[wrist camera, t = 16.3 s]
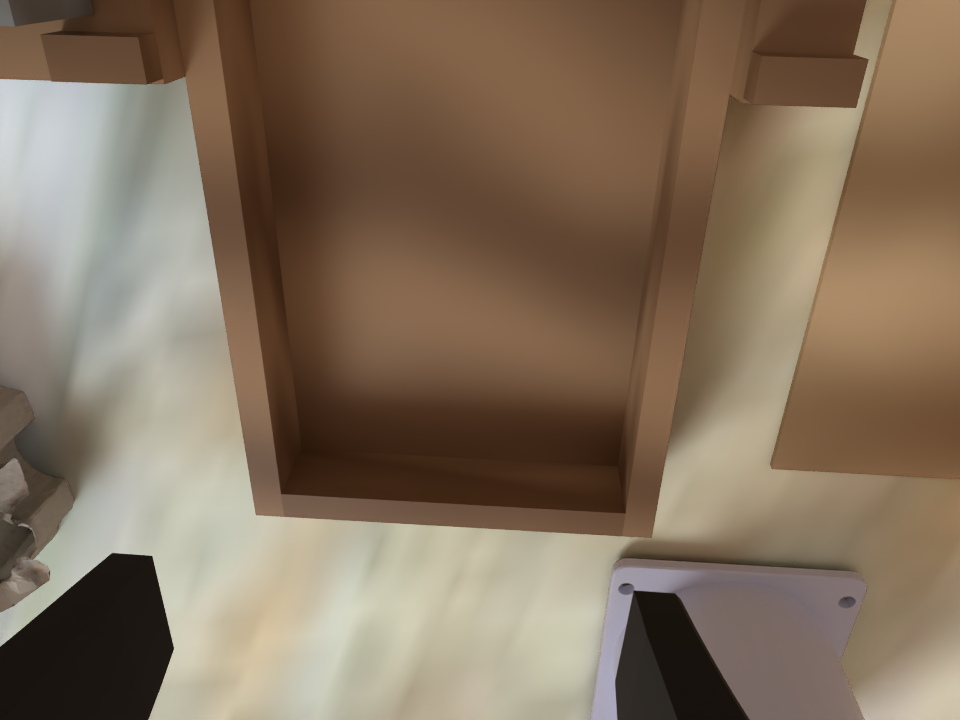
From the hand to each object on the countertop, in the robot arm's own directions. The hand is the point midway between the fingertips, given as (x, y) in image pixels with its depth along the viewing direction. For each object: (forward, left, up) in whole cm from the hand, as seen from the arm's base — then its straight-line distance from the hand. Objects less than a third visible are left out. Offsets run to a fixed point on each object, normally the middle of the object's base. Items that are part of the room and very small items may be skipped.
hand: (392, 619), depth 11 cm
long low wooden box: (+3, +5, -11) cm, 12 cm away
